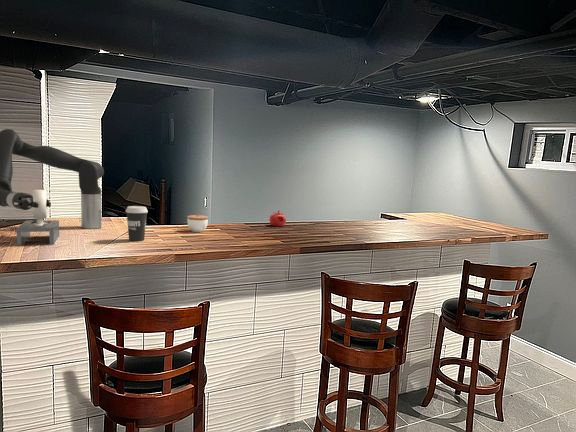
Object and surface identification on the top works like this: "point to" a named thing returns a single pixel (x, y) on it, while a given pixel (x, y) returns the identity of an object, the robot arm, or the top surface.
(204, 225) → the lidded jar
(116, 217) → the top surface
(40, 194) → the peg
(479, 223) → the top surface
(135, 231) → the coffee cup
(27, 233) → the keyhole plate
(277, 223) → the pomegranate
